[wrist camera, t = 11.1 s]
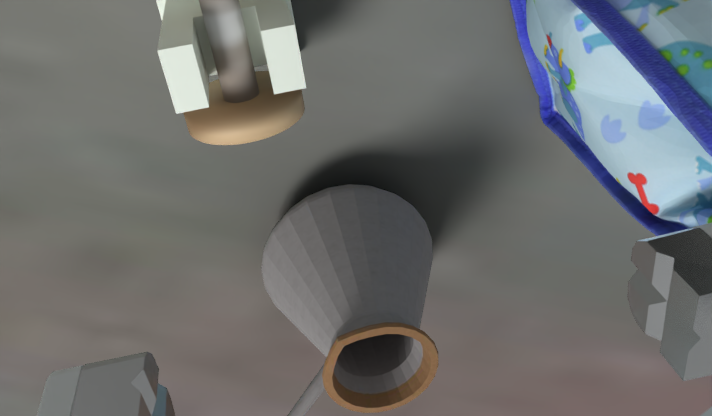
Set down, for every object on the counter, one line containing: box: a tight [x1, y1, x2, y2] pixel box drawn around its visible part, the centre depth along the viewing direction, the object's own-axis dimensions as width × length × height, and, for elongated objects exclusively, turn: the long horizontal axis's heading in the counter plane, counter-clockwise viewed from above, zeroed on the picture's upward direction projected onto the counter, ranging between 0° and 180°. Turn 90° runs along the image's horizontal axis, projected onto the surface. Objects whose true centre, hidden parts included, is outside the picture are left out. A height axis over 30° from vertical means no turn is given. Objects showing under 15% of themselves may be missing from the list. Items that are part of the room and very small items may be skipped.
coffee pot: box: [261, 184, 438, 416], centre depth 42 cm, size 21×12×15 cm, turn 132°
